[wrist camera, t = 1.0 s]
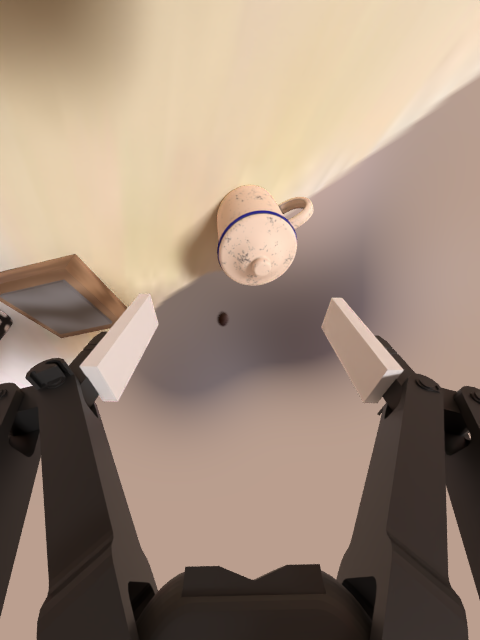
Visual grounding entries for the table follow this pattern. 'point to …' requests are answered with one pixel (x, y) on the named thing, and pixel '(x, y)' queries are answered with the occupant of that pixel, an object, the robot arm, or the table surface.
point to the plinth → (61, 296)
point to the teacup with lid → (257, 234)
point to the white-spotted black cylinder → (4, 323)
